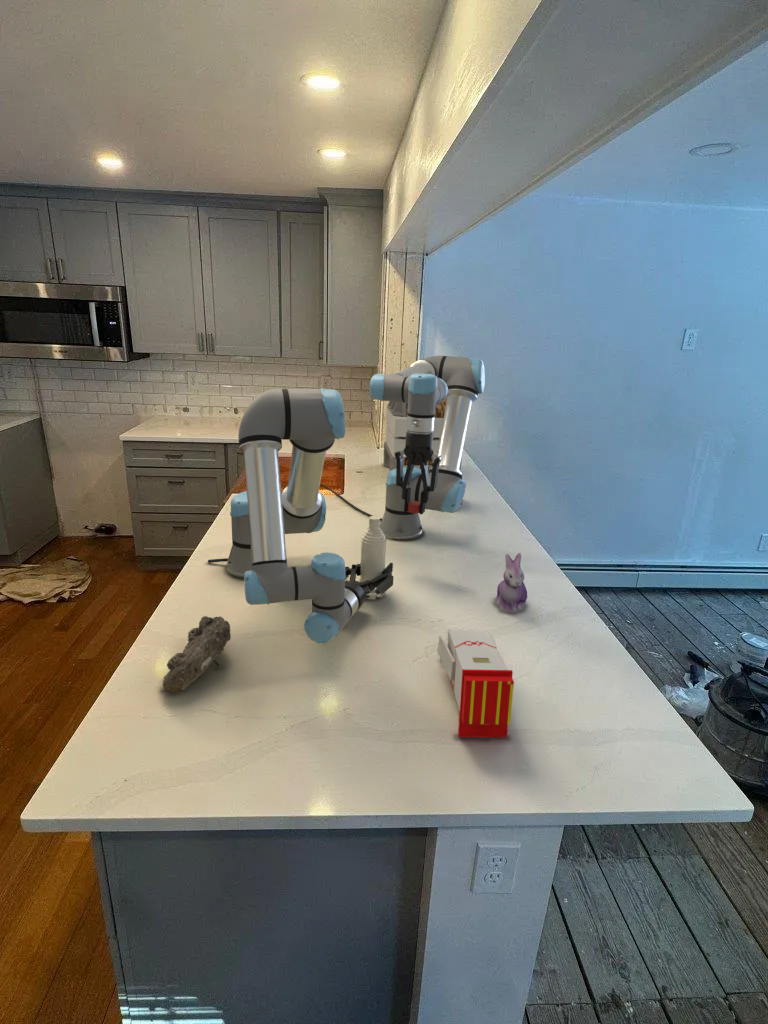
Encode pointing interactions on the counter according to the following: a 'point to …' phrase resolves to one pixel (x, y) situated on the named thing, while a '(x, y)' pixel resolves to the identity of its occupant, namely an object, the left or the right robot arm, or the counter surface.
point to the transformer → (397, 431)
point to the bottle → (372, 551)
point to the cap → (414, 507)
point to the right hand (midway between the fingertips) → (414, 511)
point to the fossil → (197, 653)
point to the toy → (478, 682)
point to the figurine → (512, 586)
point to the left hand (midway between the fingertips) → (379, 564)
